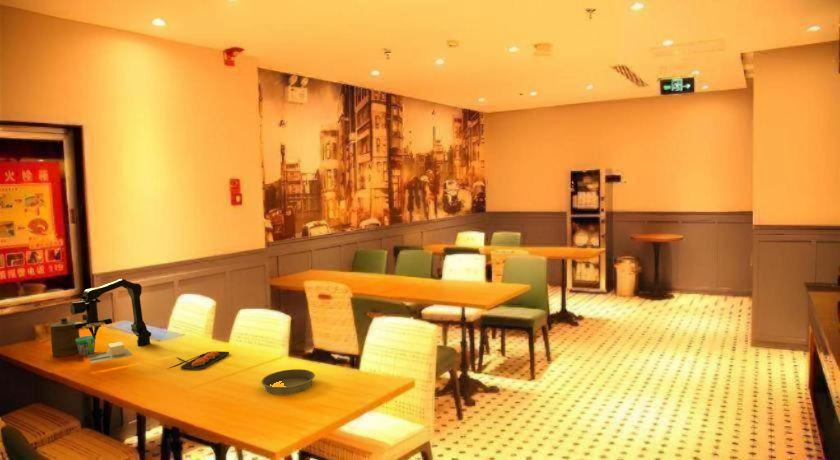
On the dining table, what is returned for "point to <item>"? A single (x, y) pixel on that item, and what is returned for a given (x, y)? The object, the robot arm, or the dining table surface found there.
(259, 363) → the dining table surface
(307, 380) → the cake pan
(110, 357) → the base plate
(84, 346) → the snack cup
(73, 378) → the dining table surface
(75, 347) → the dark grey canister
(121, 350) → the cover
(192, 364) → the sushi plate
